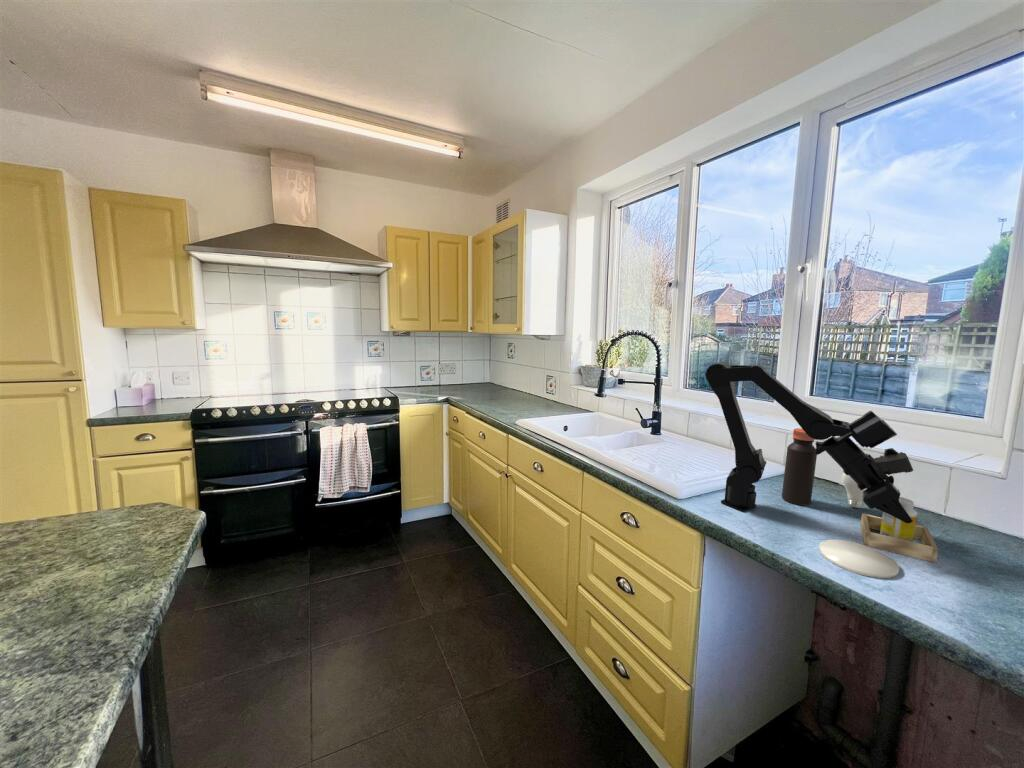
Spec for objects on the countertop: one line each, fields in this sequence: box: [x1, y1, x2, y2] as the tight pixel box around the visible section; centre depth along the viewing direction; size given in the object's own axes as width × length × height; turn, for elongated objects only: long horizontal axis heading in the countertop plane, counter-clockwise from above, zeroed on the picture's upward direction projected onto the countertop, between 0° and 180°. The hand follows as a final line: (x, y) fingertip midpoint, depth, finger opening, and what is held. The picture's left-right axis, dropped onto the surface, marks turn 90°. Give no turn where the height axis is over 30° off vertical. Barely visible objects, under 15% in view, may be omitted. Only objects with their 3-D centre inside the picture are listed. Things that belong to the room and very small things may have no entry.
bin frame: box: [860, 513, 939, 564], centre depth 96 cm, size 12×12×3 cm
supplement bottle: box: [879, 496, 918, 542], centre depth 95 cm, size 6×6×10 cm
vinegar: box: [781, 428, 818, 506], centre depth 116 cm, size 7×7×20 cm
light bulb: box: [841, 472, 867, 509], centre depth 113 cm, size 7×7×11 cm
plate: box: [818, 539, 900, 579], centre depth 89 cm, size 13×13×1 cm
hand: (907, 516), depth 94 cm, fingers open, 6 cm apart
